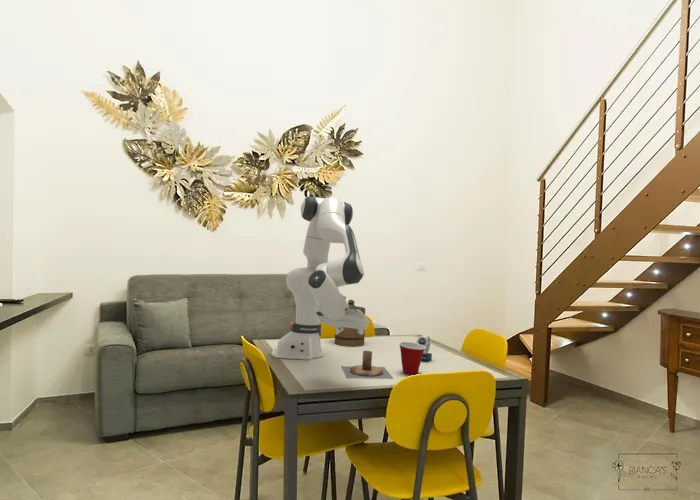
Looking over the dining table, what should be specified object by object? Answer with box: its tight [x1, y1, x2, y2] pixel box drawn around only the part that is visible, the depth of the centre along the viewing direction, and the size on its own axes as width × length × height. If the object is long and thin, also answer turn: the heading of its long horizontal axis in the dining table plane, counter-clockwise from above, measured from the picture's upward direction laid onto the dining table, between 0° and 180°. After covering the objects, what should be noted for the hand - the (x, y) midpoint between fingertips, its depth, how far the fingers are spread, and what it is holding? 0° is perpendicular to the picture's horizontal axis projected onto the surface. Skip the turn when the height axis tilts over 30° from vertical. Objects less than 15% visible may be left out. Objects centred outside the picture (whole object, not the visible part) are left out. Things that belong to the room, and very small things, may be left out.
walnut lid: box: [350, 350, 383, 377], centre depth 212 cm, size 13×13×8 cm
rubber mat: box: [341, 365, 394, 380], centre depth 212 cm, size 18×18×1 cm
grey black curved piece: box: [416, 335, 433, 363], centre depth 240 cm, size 6×8×11 cm
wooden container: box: [334, 299, 366, 347], centre depth 269 cm, size 15×15×22 cm
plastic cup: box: [398, 341, 426, 376], centre depth 214 cm, size 11×11×12 cm
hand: (351, 331), depth 202 cm, fingers open, 8 cm apart
